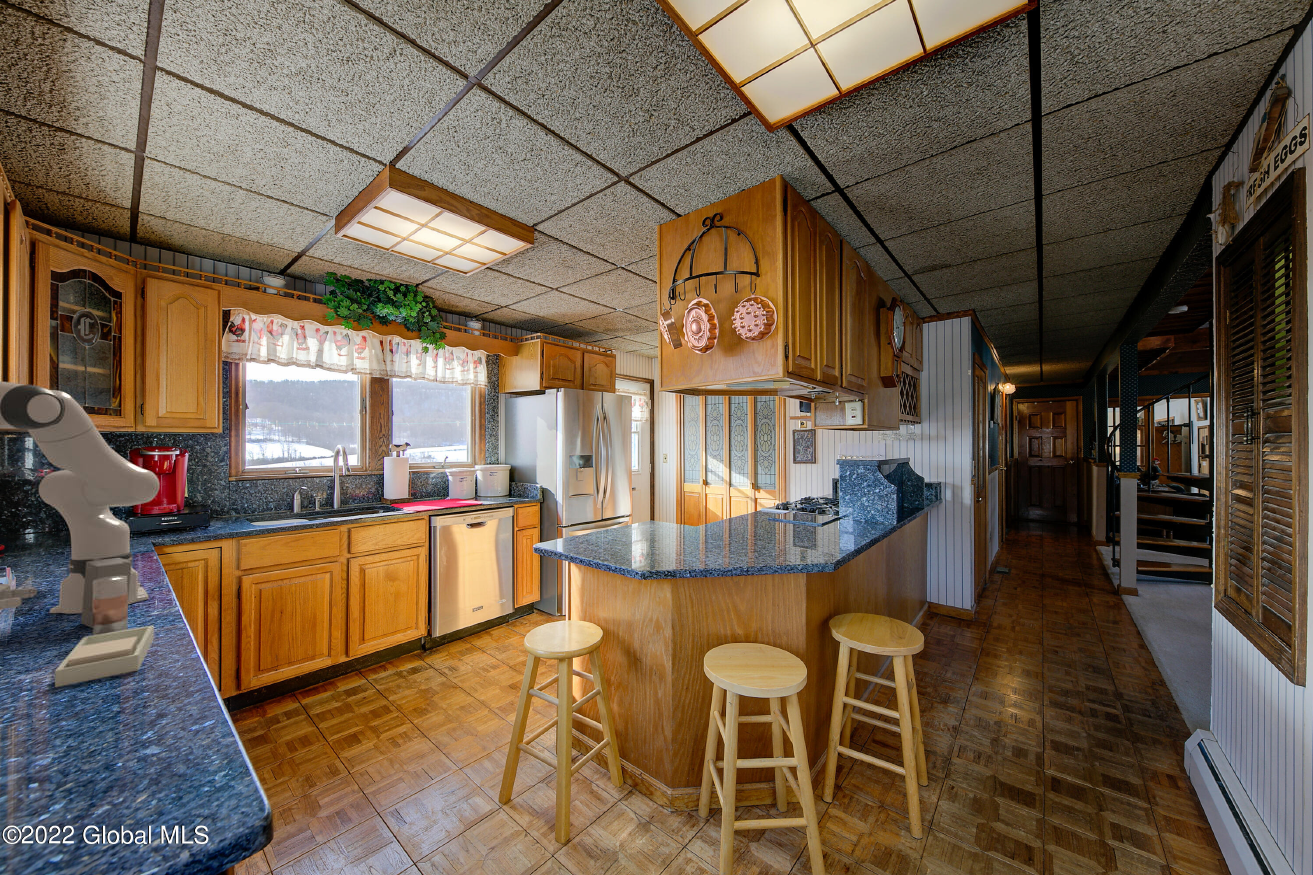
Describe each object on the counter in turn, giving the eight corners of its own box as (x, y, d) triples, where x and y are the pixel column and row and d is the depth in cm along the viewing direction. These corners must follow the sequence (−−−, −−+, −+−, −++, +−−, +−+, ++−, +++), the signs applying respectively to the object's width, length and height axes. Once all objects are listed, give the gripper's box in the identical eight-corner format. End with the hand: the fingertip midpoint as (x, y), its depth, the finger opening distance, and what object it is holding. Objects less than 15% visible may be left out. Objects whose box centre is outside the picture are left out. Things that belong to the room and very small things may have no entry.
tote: (83, 655, 109) (83, 636, 109) (153, 642, 116) (153, 625, 116) (55, 692, 93) (55, 670, 93) (138, 674, 100) (138, 654, 100)
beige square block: (79, 666, 101) (79, 646, 101) (137, 655, 106) (137, 636, 106) (68, 681, 95) (68, 660, 95) (130, 669, 100) (130, 648, 100)
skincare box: (80, 624, 128) (80, 561, 128) (119, 615, 134) (119, 556, 134) (92, 629, 124) (92, 565, 124) (132, 620, 130) (132, 559, 130)
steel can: (95, 637, 119) (95, 578, 119) (129, 631, 123) (129, 574, 123) (89, 644, 115) (89, 583, 115) (125, 638, 118) (125, 578, 118)
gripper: (-106, 605, 94) (11, 592, 103) (-55, 584, 110) (43, 573, 119) (-107, 639, 94) (11, 623, 103) (-56, 613, 110) (42, 600, 118)
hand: (28, 596), depth 111 cm, fingers open, 8 cm apart
